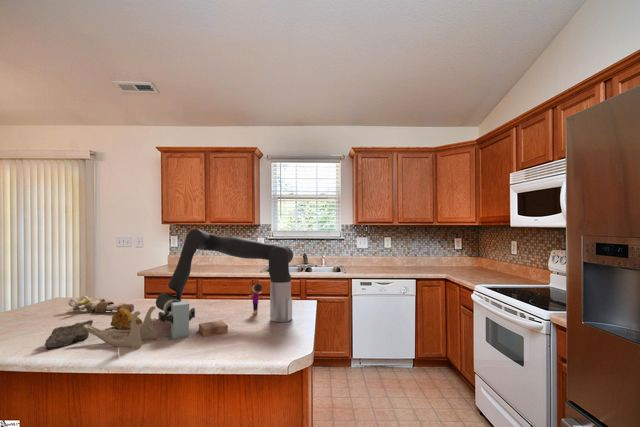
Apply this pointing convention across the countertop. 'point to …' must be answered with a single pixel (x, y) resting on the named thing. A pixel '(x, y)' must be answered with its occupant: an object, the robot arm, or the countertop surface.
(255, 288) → the toy
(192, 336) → the gray tile
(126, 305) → the figurine
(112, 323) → the rock
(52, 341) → the rock
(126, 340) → the jawbone
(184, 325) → the block
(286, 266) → the robot arm
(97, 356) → the countertop surface
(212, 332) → the stand
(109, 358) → the countertop surface
